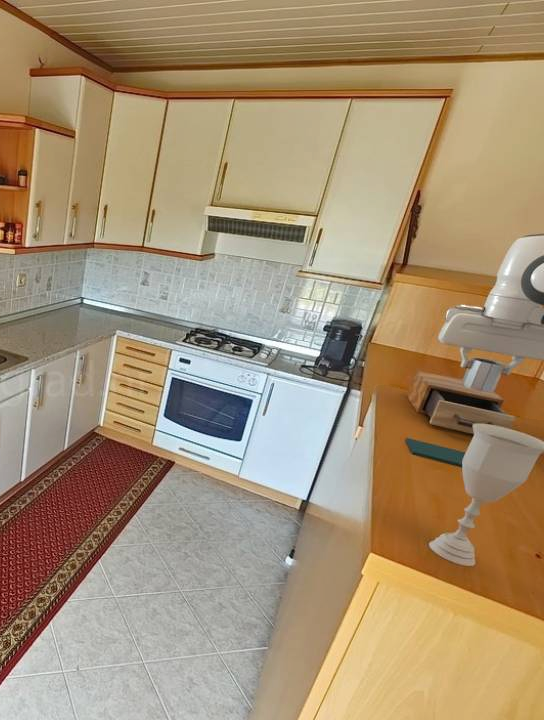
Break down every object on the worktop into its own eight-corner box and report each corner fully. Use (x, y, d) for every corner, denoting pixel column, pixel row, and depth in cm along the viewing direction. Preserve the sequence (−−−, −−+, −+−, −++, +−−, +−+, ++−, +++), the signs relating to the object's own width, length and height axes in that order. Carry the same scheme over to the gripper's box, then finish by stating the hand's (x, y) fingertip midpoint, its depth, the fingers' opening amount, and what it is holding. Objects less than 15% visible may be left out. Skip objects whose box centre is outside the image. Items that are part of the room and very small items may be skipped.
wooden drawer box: (512, 450, 103) (524, 425, 101) (435, 431, 108) (445, 407, 106) (485, 421, 119) (495, 399, 117) (419, 406, 124) (427, 385, 122)
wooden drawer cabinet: (490, 429, 116) (504, 400, 114) (416, 412, 123) (428, 384, 120) (472, 411, 129) (485, 384, 126) (407, 396, 135) (417, 370, 132)
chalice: (420, 553, 66) (476, 434, 60) (417, 530, 71) (468, 418, 65) (490, 579, 62) (557, 455, 56) (481, 552, 68) (542, 436, 62)
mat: (488, 460, 98) (489, 458, 98) (501, 477, 92) (502, 474, 92) (405, 440, 104) (406, 437, 104) (412, 454, 98) (413, 451, 97)
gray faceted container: (488, 387, 113) (499, 361, 111) (496, 394, 108) (508, 366, 106) (458, 382, 116) (468, 356, 114) (465, 388, 111) (476, 361, 109)
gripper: (454, 304, 108) (431, 363, 112) (579, 321, 99) (548, 385, 104) (447, 301, 113) (425, 358, 118) (565, 317, 104) (537, 378, 109)
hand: (484, 371), depth 111 cm, fingers closed on gray faceted container, 5 cm apart
